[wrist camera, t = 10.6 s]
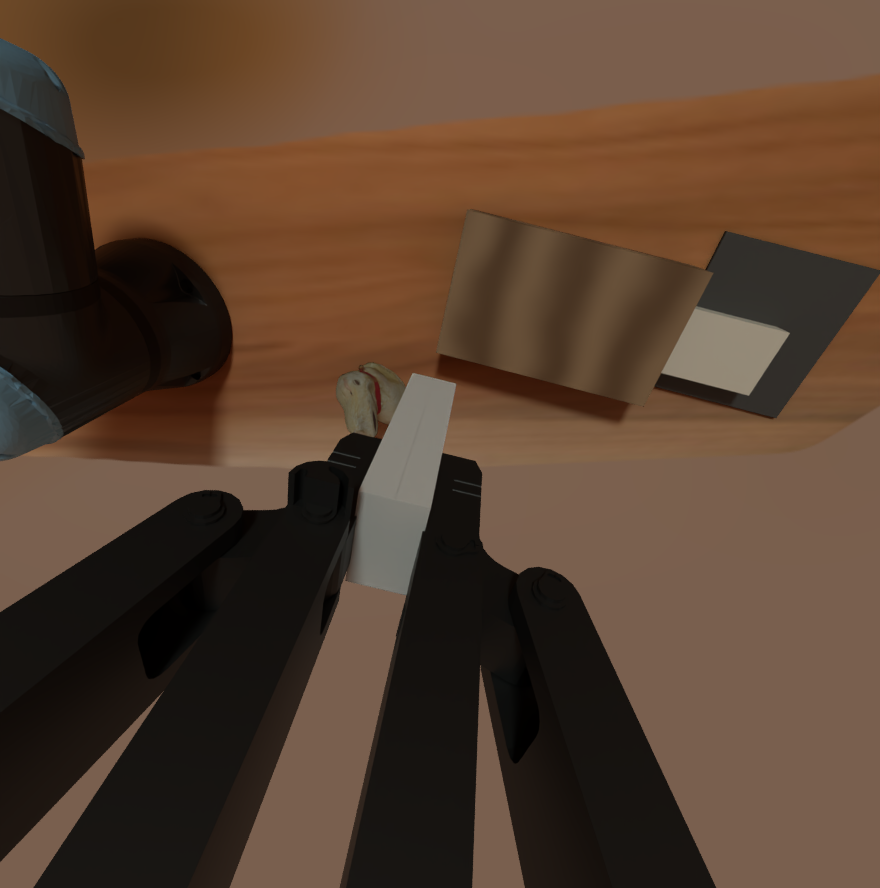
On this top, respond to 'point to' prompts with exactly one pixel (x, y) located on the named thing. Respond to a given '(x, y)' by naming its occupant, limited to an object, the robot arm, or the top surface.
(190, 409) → the top surface
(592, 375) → the brown wooden flat slab
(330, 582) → the robot arm
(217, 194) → the top surface
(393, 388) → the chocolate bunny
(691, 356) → the block
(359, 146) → the top surface
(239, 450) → the top surface
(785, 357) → the mat
